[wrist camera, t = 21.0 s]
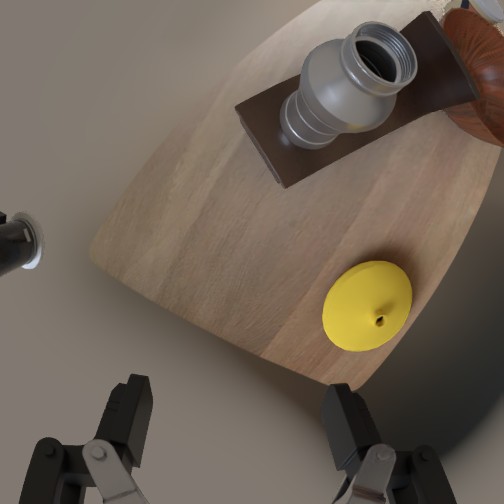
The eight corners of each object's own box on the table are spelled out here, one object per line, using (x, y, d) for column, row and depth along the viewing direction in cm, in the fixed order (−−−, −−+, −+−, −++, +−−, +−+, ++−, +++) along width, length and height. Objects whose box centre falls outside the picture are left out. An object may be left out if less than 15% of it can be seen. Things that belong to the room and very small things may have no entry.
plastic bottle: (333, 100, 28) (430, 22, 8) (332, 155, 29) (444, 131, 10) (278, 93, 27) (318, -14, 8) (275, 149, 29) (321, 101, 10)
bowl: (475, 179, 37) (518, 183, 26) (383, 78, 33) (420, 54, 22) (506, 98, 32) (541, 92, 21) (429, 10, 28) (459, -12, 17)
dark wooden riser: (277, 187, 38) (301, 194, 21) (237, 120, 36) (227, 75, 18) (406, 118, 35) (482, 98, 18) (370, 59, 33) (429, 10, 15)
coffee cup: (436, 10, 28) (467, -12, 16) (447, -3, 26) (475, -23, 15) (467, 43, 30) (502, 27, 18) (476, 27, 28) (507, 12, 16)
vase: (297, 311, 43) (305, 334, 36) (365, 234, 40) (385, 245, 33) (359, 355, 46) (372, 379, 39) (418, 291, 42) (439, 307, 36)
